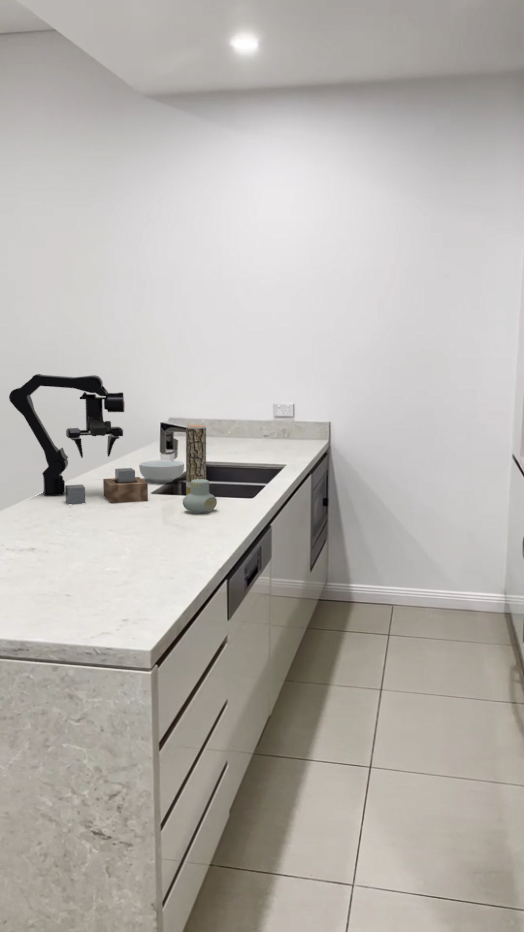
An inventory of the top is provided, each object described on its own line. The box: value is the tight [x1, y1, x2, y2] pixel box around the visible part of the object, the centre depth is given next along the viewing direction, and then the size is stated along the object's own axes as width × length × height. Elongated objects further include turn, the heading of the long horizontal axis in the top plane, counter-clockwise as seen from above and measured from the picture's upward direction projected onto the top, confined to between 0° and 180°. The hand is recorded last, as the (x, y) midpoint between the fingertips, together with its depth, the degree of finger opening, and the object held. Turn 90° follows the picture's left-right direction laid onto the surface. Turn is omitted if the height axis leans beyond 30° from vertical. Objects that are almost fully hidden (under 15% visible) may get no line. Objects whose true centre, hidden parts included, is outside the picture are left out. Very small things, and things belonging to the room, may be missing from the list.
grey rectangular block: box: [114, 467, 136, 484], centre depth 275 cm, size 6×6×10 cm
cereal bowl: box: [138, 459, 185, 484], centre depth 307 cm, size 17×17×7 cm
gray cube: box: [64, 483, 86, 505], centre depth 268 cm, size 6×6×6 cm
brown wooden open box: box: [102, 476, 149, 504], centre depth 275 cm, size 12×12×6 cm
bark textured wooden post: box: [185, 424, 207, 496], centre depth 276 cm, size 7×7×25 cm
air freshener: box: [182, 479, 218, 514], centre depth 257 cm, size 11×8×10 cm
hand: (95, 457), depth 280 cm, fingers open, 9 cm apart
